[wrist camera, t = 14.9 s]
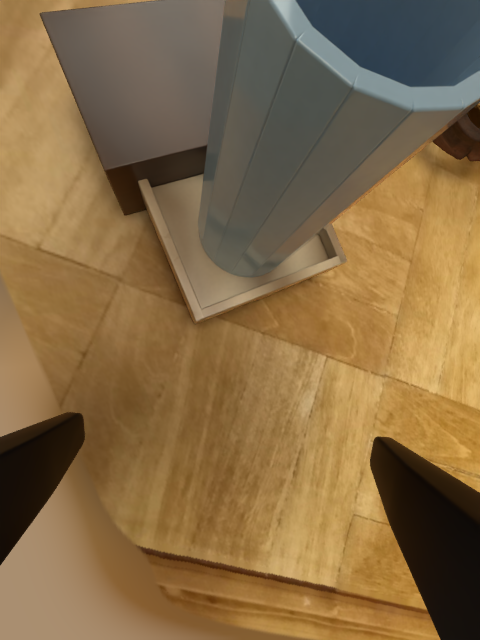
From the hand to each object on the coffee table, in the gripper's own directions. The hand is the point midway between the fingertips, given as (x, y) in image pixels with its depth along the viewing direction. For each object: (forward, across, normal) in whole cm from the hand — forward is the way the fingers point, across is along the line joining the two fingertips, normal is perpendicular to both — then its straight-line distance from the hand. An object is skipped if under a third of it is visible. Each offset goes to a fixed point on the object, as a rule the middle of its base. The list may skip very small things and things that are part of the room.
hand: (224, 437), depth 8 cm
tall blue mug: (+12, -1, -8) cm, 15 cm away
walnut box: (+15, +3, -10) cm, 18 cm away
